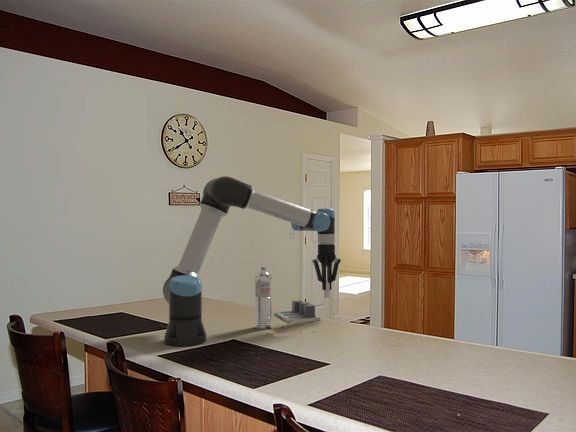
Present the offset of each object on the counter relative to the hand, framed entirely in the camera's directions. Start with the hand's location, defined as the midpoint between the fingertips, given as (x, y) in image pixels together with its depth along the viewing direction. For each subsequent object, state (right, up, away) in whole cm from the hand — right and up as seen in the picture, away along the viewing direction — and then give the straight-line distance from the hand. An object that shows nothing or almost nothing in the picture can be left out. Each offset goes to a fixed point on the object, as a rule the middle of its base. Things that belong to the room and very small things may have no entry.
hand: (326, 297), depth 218 cm
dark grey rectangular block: (-8, -9, -3) cm, 12 cm away
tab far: (-13, -9, +9) cm, 18 cm away
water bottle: (-27, -11, -13) cm, 32 cm away
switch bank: (-13, -11, +2) cm, 17 cm away
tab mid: (-10, -9, +3) cm, 14 cm away
